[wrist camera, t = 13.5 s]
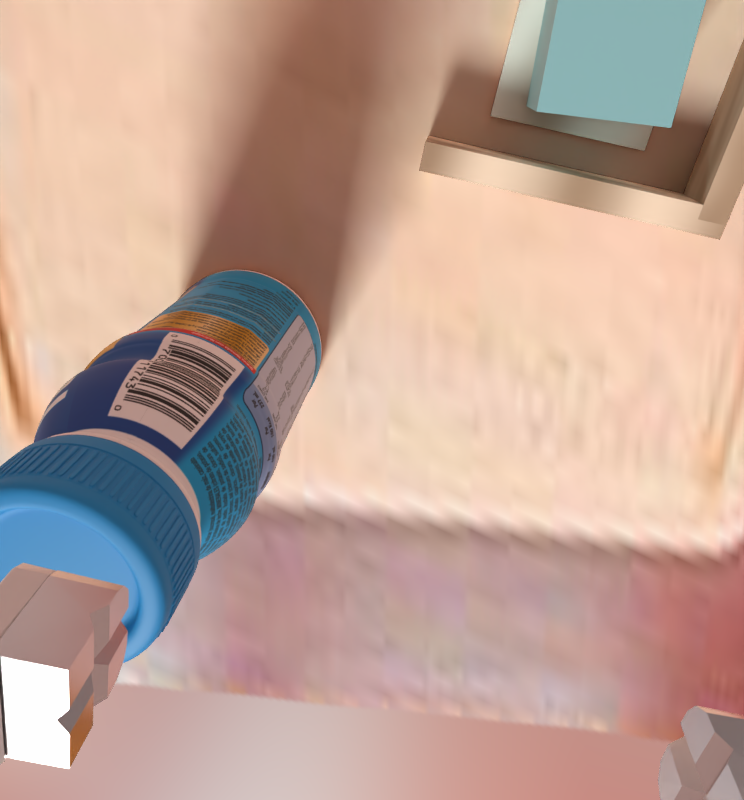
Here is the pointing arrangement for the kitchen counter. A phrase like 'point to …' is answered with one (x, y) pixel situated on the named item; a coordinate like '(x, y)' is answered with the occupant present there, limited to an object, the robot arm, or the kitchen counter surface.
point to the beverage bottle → (163, 445)
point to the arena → (690, 212)
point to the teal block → (614, 58)
